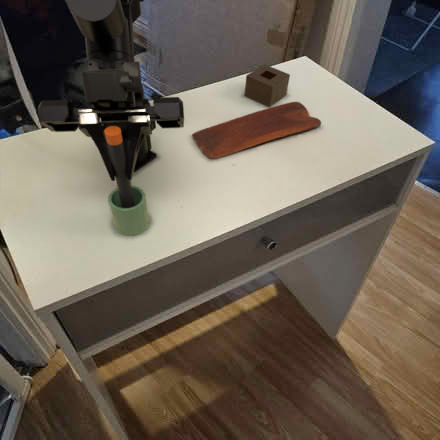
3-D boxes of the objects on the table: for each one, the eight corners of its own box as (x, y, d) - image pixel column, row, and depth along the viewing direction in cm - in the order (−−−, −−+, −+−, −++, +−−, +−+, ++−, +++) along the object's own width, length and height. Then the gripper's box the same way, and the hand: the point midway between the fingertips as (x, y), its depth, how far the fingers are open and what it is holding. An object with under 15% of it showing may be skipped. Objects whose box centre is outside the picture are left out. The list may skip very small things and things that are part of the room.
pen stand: (269, 107, 85) (272, 86, 81) (244, 96, 87) (246, 75, 84) (286, 94, 88) (290, 74, 85) (261, 84, 91) (264, 63, 87)
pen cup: (131, 241, 62) (126, 215, 57) (107, 224, 64) (100, 198, 59) (156, 221, 65) (153, 196, 60) (132, 206, 66) (127, 180, 62)
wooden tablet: (296, 104, 86) (298, 96, 85) (323, 128, 81) (325, 120, 80) (186, 133, 79) (186, 126, 77) (209, 162, 74) (209, 154, 72)
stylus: (121, 207, 62) (103, 126, 51) (135, 204, 63) (119, 124, 51) (123, 216, 61) (105, 136, 50) (137, 214, 62) (121, 134, 50)
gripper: (11, 31, 44) (31, 177, 47) (179, 29, 45) (189, 170, 48) (45, 69, 55) (59, 185, 57) (179, 66, 56) (187, 179, 59)
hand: (121, 180), depth 55 cm, fingers closed on stylus, 2 cm apart
